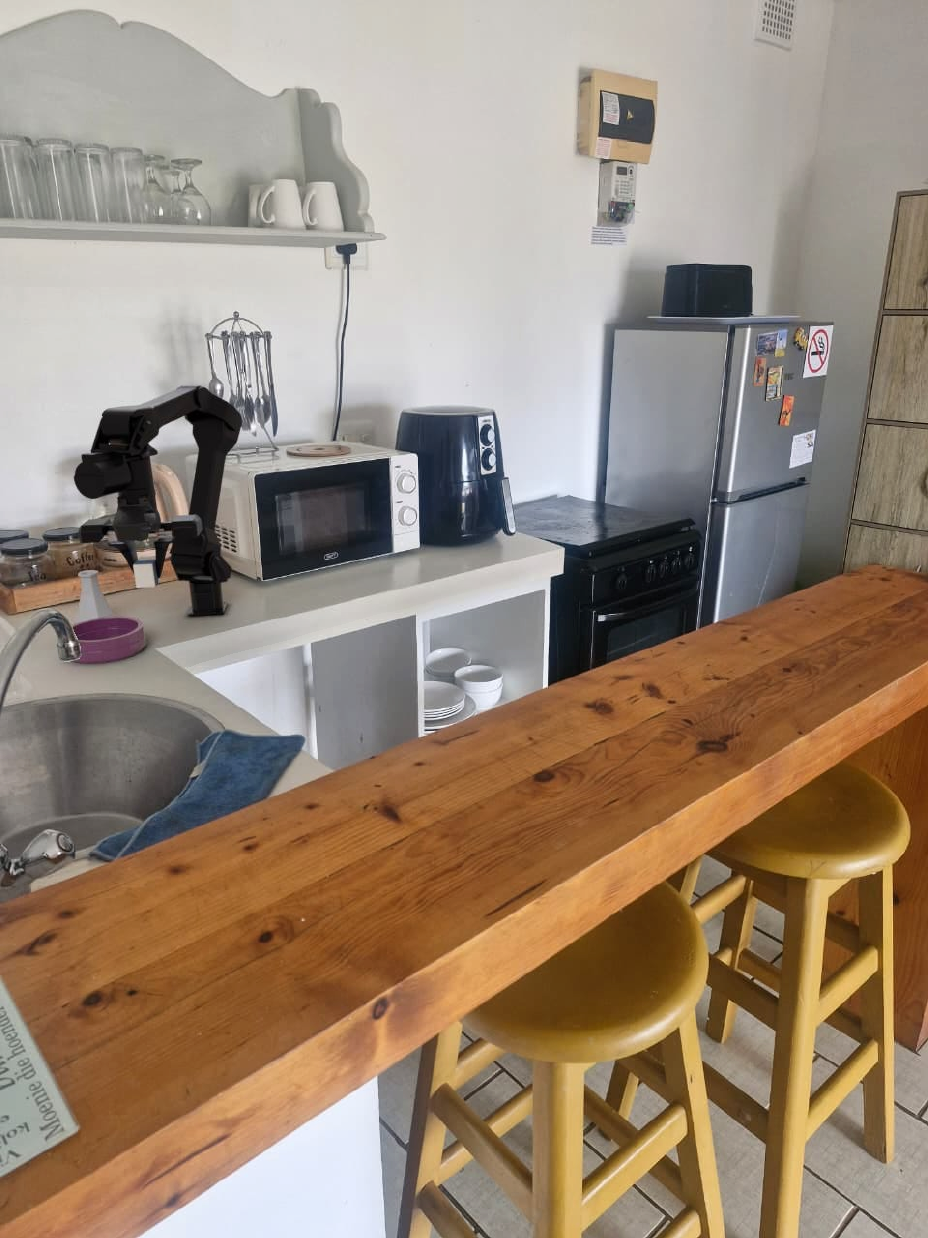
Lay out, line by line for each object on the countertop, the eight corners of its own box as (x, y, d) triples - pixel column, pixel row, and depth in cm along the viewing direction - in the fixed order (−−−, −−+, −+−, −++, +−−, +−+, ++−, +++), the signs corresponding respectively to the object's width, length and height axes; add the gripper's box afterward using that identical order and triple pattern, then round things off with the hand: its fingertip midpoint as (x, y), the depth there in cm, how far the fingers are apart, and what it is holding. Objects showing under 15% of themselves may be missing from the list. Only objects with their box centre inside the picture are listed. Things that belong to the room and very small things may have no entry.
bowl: (76, 640, 150) (73, 618, 148) (153, 636, 151) (150, 614, 150) (54, 667, 138) (50, 644, 137) (138, 662, 139) (134, 639, 138)
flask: (102, 633, 153) (94, 578, 150) (66, 631, 154) (57, 577, 151) (125, 620, 160) (118, 567, 156) (90, 617, 161) (82, 566, 158)
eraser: (143, 579, 149) (140, 556, 148) (161, 578, 150) (158, 555, 148) (136, 588, 144) (132, 564, 143) (155, 587, 144) (152, 563, 143)
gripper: (60, 499, 133) (77, 596, 138) (185, 494, 135) (197, 589, 140) (81, 485, 143) (96, 576, 149) (197, 481, 146) (208, 570, 151)
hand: (148, 578), depth 147 cm, fingers closed on eraser, 3 cm apart
